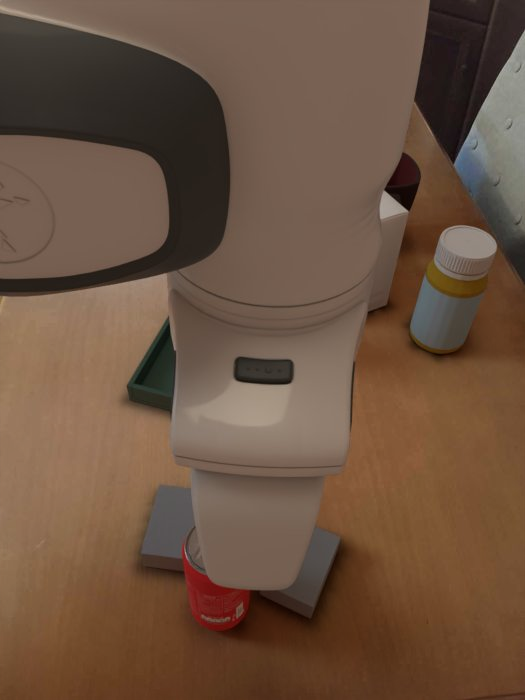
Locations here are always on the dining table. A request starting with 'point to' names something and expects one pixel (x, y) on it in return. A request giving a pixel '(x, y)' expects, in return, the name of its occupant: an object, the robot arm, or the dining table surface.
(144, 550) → the thick grey tile
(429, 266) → the bottle
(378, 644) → the dining table surface
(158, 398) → the can tray
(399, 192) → the cup
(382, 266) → the rectangular carton
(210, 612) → the beverage can
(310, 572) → the grey block right
